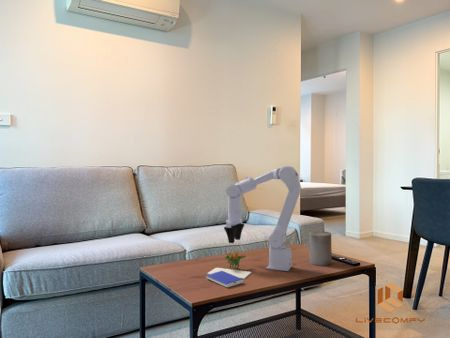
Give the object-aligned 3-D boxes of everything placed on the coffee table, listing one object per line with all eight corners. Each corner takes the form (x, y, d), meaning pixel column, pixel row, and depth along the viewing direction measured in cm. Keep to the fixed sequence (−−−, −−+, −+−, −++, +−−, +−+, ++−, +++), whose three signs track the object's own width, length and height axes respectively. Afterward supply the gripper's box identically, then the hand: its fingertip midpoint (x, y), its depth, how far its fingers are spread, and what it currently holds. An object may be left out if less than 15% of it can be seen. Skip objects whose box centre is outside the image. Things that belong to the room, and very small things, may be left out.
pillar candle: (327, 260, 170) (327, 228, 170) (334, 265, 160) (334, 231, 160) (307, 260, 170) (306, 228, 169) (312, 266, 160) (312, 232, 160)
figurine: (222, 269, 152) (223, 249, 153) (243, 266, 160) (244, 248, 161) (226, 270, 150) (227, 250, 151) (248, 268, 157) (249, 249, 158)
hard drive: (206, 274, 141) (226, 283, 131) (222, 270, 146) (243, 278, 136) (206, 278, 141) (226, 287, 131) (222, 274, 146) (243, 282, 136)
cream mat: (251, 272, 150) (251, 271, 150) (244, 279, 141) (244, 278, 141) (216, 268, 156) (216, 267, 156) (207, 274, 147) (207, 273, 147)
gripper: (232, 208, 171) (232, 237, 171) (219, 212, 158) (220, 243, 158) (246, 209, 169) (246, 238, 169) (234, 213, 155) (235, 245, 155)
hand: (234, 241), depth 163 cm, fingers open, 7 cm apart
